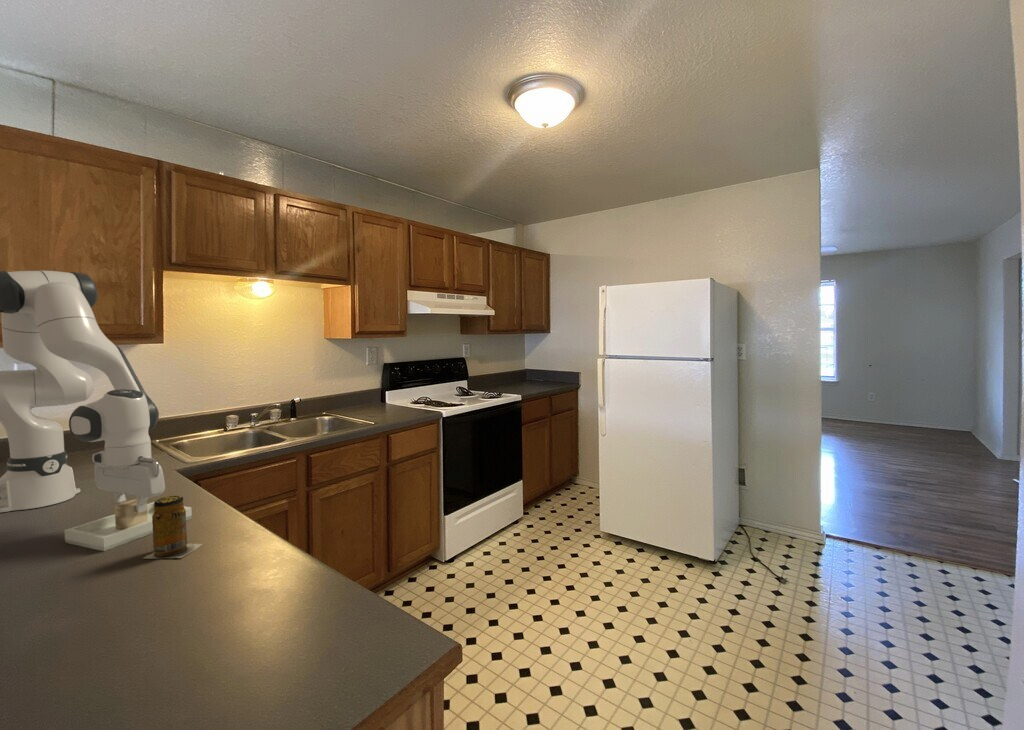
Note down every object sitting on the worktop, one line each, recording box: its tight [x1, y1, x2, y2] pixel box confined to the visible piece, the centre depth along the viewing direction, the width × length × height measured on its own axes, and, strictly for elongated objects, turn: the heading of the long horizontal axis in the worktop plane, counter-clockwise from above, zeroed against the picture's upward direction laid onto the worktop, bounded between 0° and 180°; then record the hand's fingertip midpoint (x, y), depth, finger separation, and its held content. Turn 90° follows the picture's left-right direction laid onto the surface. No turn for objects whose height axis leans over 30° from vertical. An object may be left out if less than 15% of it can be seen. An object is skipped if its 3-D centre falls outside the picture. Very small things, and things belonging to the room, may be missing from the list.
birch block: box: [114, 498, 148, 530], centre depth 115 cm, size 4×4×6 cm
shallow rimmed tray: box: [64, 501, 193, 552], centre depth 115 cm, size 14×20×3 cm
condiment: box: [143, 495, 204, 560], centre depth 103 cm, size 7×8×12 cm
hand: (131, 509), depth 114 cm, fingers open, 5 cm apart
